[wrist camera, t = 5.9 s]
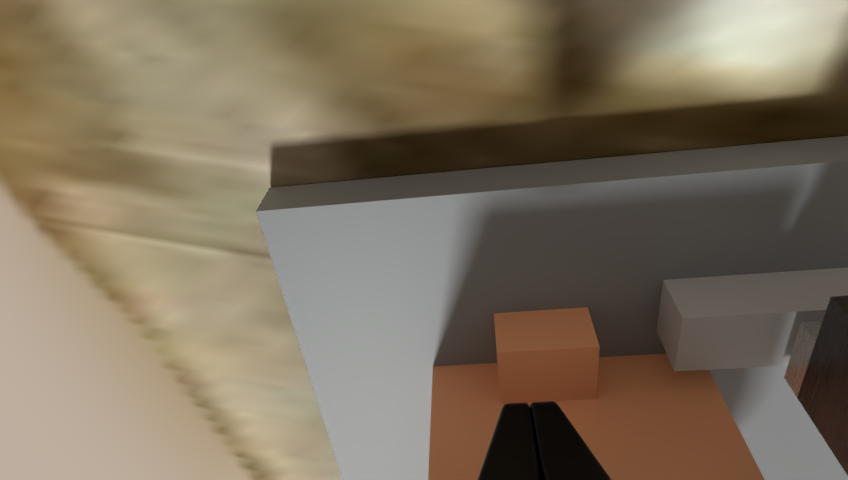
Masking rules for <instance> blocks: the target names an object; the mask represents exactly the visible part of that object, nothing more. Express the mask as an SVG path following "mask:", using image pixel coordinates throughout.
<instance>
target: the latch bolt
mask: <svg viewBox="0 0 848 480" xmlns="http://www.w3.org/2000/svg"><path fill="white" fill-rule="evenodd" d="M784 378H785V380H786V381H787V383H788V384H789V386H790V387H791V389H792V391H793V392H794V394H795V395H796V397H797V398H798V400H799V401H800V403H801V404H802V406H803V408H804V409H805V411H806V412H807V414H808V415H809V417H810V418H811V420H812V421H813V423H814V425H815V426H816V428H817V429H818V431H819V432H820V434H821V435H822V437H823V438H824V440H825V442H826V443H827V445H828V446H829V448H830V449H831V451H832V452H833V454H834V455H835V457H836V459H837V460H838V462H839V463H840V465H841V466H842V468H843V469H844V471H845V472H846V474H847V475H848V296H833V297H831V298H830V301H829V304H828V307H827V310H826V313H825V316H824V319H823V321H820V322H803V323H801V324H800V327H799V331H798V334H797V337H796V340H795V344H794V347H793V350H792V353H791V357H790V360H789V363H788V366H787V370H786V373H785V376H784Z"/></svg>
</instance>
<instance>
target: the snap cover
mask: <svg viewBox="0 0 848 480" xmlns="http://www.w3.org/2000/svg"><path fill="white" fill-rule="evenodd" d="M494 324H495V338H496V352H497V363H488V364H470V365H451V366H433V375H432V399H431V423H430V448H429V472H428V480H478V477H479V474H480V471H481V468H482V465H483V462H484V459H485V456H486V453H487V450H488V447H489V445H490V442H491V439H492V436H493V433H494V430H495V427H496V424H497V421H498V418H499V415H500V412H501V410H502V407H503V406H504V405H505V404H507V403H527V404H528V405H529V406H530V405H531V403H533V402H544V401H554V402H555V403H557V404H558V405H559V407H560V408H561V409H562V411H563V412H564V414H565V415H566V416H567V418H568V419H569V421H570V422H571V424H572V425H573V426H574V428H575V429H576V431H577V432H578V433H579V435H580V436H581V438H582V439H583V440H584V442H585V443H586V445H587V446H588V447H589V449H590V450H591V452H592V453H593V455H594V456H595V457H596V459H597V460H598V462H599V463H600V464H601V466H602V467H603V469H604V470H605V471H606V473H607V474H608V476H609V477H610V478H611V480H765V479H764V477H763V475H762V474H761V472H760V470H759V468H758V466H757V464H756V462H755V460H754V458H753V456H752V454H751V452H750V450H749V448H748V446H747V444H746V442H745V440H744V438H743V436H742V434H741V432H740V430H739V428H738V426H737V424H736V422H735V420H734V418H733V416H732V414H731V412H730V411H729V409H728V407H727V405H726V403H725V401H724V399H723V397H722V395H721V393H720V391H719V389H718V387H717V385H716V383H715V381H714V379H713V377H712V375H711V373H710V371H709V370H694V371H675V372H674V370H673V368H672V365H671V363H670V361H669V358H668V356H667V354H650V355H632V356H614V357H599V350H600V346H599V343H598V339H597V336H596V333H595V330H594V326H593V323H592V320H591V317H590V313H589V310H588V307H584V308H569V309H553V310H537V311H522V312H506V313H494Z"/></svg>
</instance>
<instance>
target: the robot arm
mask: <svg viewBox="0 0 848 480" xmlns="http://www.w3.org/2000/svg"><path fill="white" fill-rule="evenodd" d="M478 480H611V478H610V477H609V476H608V474H607V473H606V471H605V470H604V469H603V467H602V466H601V464H600V463H599V462H598V460H597V459H596V457H595V456H594V455H593V453H592V452H591V450H590V449H589V447H588V446H587V445H586V443H585V442H584V440H583V439H582V438H581V436H580V435H579V433H578V432H577V431H576V429H575V428H574V426H573V425H572V424H571V422H570V421H569V419H568V418H567V416H566V415H565V414H564V412H563V411H562V409H561V408H560V407H559V405H558V404H557V403H555V402H554V401H544V402H533V403H531V405H530V406H529V405H528V404H527V403H507V404H505V405H504V406H503V407H502V410H501V412H500V415H499V418H498V421H497V424H496V427H495V430H494V433H493V436H492V439H491V442H490V445H489V447H488V450H487V453H486V456H485V459H484V462H483V465H482V468H481V471H480V474H479V477H478Z"/></svg>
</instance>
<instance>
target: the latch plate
mask: <svg viewBox="0 0 848 480" xmlns="http://www.w3.org/2000/svg"><path fill="white" fill-rule="evenodd" d="M256 213H257V216H258V219H259V222H260V225H261V228H262V231H263V234H264V237H265V241H266V244H267V247H268V250H269V253H270V256H271V259H272V262H273V265H274V268H275V272H276V275H277V278H278V281H279V284H280V287H281V290H282V293H283V296H284V300H285V303H286V306H287V309H288V312H289V315H290V318H291V321H292V324H293V328H294V331H295V334H296V337H297V340H298V343H299V346H300V349H301V352H302V355H303V359H304V362H305V365H306V368H307V371H308V374H309V377H310V380H311V383H312V387H313V390H314V393H315V396H316V399H317V402H318V405H319V408H320V411H321V414H322V418H323V421H324V424H325V427H326V430H327V433H328V436H329V439H330V442H331V446H332V449H333V452H334V455H335V458H336V461H337V464H338V467H339V470H340V473H341V477H342V480H428V472H429V448H430V423H431V399H432V375H433V366H451V365H470V364H488V363H497V352H496V338H495V324H494V313H506V312H522V311H537V310H553V309H569V308H584V307H588V310H589V313H590V317H591V320H592V323H593V326H594V330H595V333H596V336H597V339H598V343H599V346H600V350H599V357H614V356H632V355H650V354H667V356H668V358H669V361H670V363H671V365H672V368H673V370H674V372H675V371H694V370H709V371H710V373H711V375H712V377H713V379H714V381H715V383H716V385H717V387H718V389H719V391H720V393H721V395H722V397H723V399H724V401H725V403H726V405H727V407H728V409H729V411H730V412H731V414H732V416H733V418H734V420H735V422H736V424H737V426H738V428H739V430H740V432H741V434H742V436H743V438H744V440H745V442H746V444H747V446H748V448H749V450H750V452H751V454H752V456H753V458H754V460H755V462H756V464H757V466H758V468H759V470H760V472H761V474H762V475H763V477H764V479H765V480H848V475H847V474H846V472H845V471H844V469H843V468H842V466H841V465H840V463H839V462H838V460H837V459H836V457H835V455H834V454H833V452H832V451H831V449H830V448H829V446H828V445H827V443H826V442H825V440H824V438H823V437H822V435H821V434H820V432H819V431H818V429H817V428H816V426H815V425H814V423H813V421H812V420H811V418H810V417H809V415H808V414H807V412H806V411H805V409H804V408H803V406H802V404H801V403H800V401H799V400H798V398H797V397H796V395H795V394H794V392H793V391H792V389H791V387H790V386H789V384H788V383H787V381H786V380H785V378H784V376H785V373H786V370H787V366H788V363H789V360H790V357H791V353H792V350H793V347H794V344H795V340H796V337H797V334H798V331H799V327H800V324H801V323H803V322H820V321H823V319H824V316H825V313H826V310H827V307H828V304H829V301H830V298H831V297H833V296H848V136H839V137H828V138H817V139H806V140H795V141H784V142H772V143H761V144H750V145H739V146H728V147H717V148H706V149H694V150H683V151H672V152H661V153H650V154H639V155H628V156H616V157H605V158H594V159H583V160H572V161H561V162H550V163H538V164H527V165H516V166H505V167H494V168H483V169H472V170H460V171H449V172H438V173H427V174H416V175H405V176H393V177H382V178H371V179H360V180H349V181H338V182H327V183H315V184H304V185H293V186H282V187H271V188H269V190H268V192H267V193H266V195H265V197H264V198H263V200H262V202H261V204H260V205H259V207H258V209H257V211H256Z"/></svg>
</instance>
